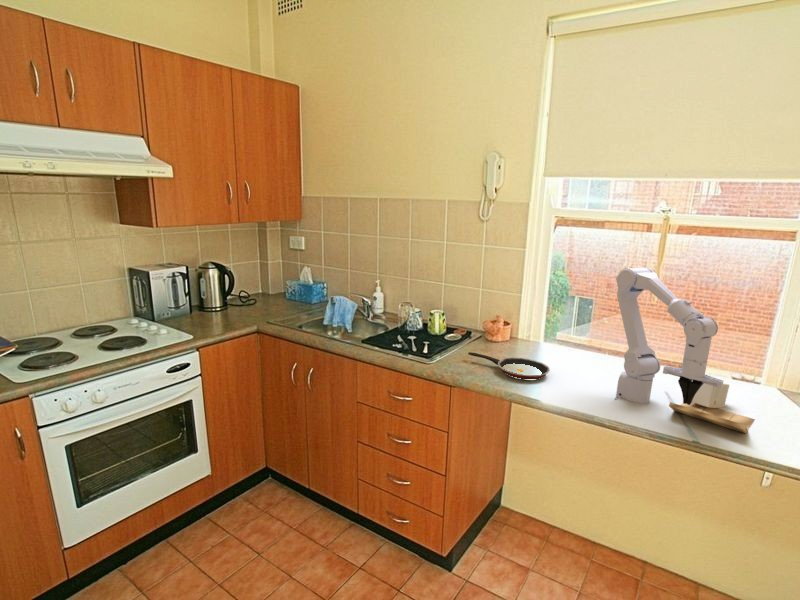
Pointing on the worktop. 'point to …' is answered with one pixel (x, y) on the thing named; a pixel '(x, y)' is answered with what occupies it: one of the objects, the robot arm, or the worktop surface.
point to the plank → (709, 417)
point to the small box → (711, 396)
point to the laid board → (722, 414)
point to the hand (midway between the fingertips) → (687, 403)
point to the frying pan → (501, 363)
